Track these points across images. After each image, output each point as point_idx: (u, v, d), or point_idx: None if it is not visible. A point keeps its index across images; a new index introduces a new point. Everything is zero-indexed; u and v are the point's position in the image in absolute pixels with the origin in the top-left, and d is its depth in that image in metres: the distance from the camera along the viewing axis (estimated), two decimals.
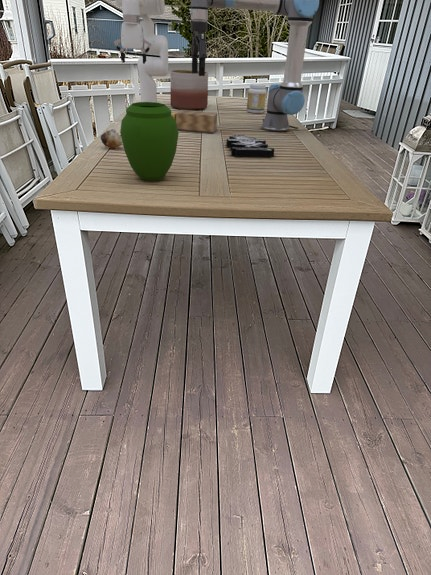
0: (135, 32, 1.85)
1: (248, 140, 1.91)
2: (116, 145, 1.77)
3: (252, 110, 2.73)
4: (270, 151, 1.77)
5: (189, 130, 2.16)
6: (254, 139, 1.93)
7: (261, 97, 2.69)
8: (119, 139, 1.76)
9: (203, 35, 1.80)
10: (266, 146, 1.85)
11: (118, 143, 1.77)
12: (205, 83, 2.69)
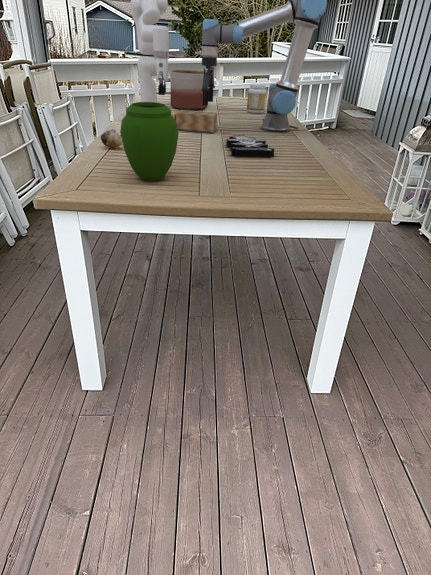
0: None
1: (248, 140, 1.91)
2: (116, 145, 1.77)
3: (252, 110, 2.73)
4: (270, 151, 1.77)
5: (189, 130, 2.16)
6: (254, 139, 1.93)
7: (261, 97, 2.69)
8: (119, 139, 1.76)
9: None
10: (266, 146, 1.85)
11: (118, 143, 1.77)
12: None
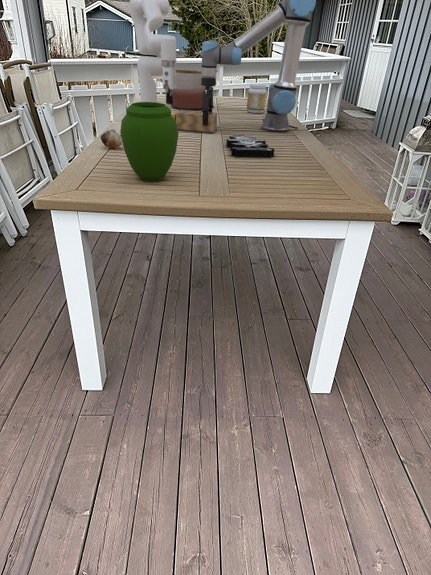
0: None
1: (248, 140, 1.91)
2: (116, 145, 1.77)
3: (252, 110, 2.73)
4: (270, 151, 1.77)
5: (189, 130, 2.16)
6: (254, 139, 1.93)
7: (261, 97, 2.69)
8: (119, 139, 1.76)
9: None
10: (266, 146, 1.85)
11: (118, 143, 1.77)
12: None
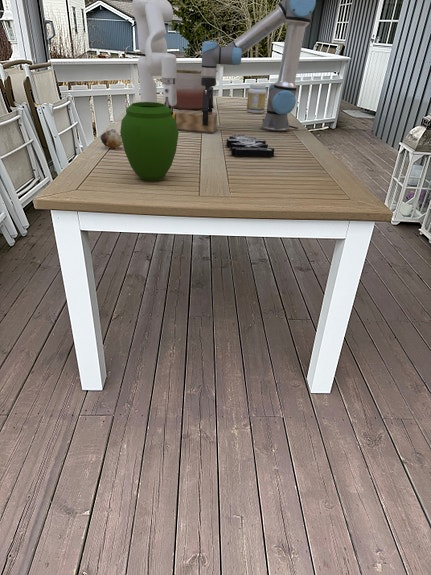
0: None
1: (248, 140, 1.91)
2: (116, 145, 1.77)
3: (252, 110, 2.73)
4: (270, 151, 1.77)
5: (189, 130, 2.16)
6: (254, 139, 1.93)
7: (261, 97, 2.69)
8: (119, 139, 1.76)
9: None
10: (266, 146, 1.85)
11: (118, 143, 1.77)
12: None
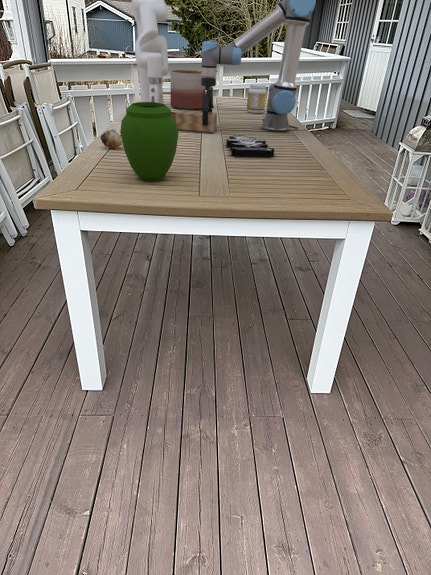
0: None
1: (248, 140, 1.91)
2: (116, 145, 1.77)
3: (252, 110, 2.73)
4: (270, 151, 1.77)
5: (189, 130, 2.16)
6: (254, 139, 1.93)
7: (261, 97, 2.69)
8: (119, 139, 1.76)
9: None
10: (266, 146, 1.85)
11: (118, 143, 1.77)
12: None
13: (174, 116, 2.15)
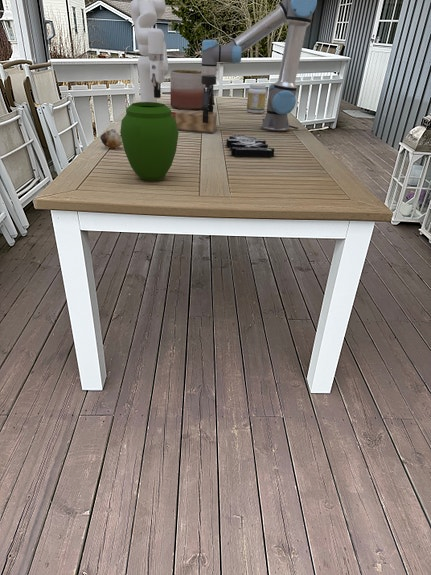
0: None
1: (248, 140, 1.91)
2: (116, 145, 1.77)
3: (252, 110, 2.73)
4: (270, 151, 1.77)
5: (189, 130, 2.16)
6: (254, 139, 1.93)
7: (261, 97, 2.69)
8: (119, 139, 1.76)
9: None
10: (266, 146, 1.85)
11: (118, 143, 1.77)
12: None
13: (174, 116, 2.15)
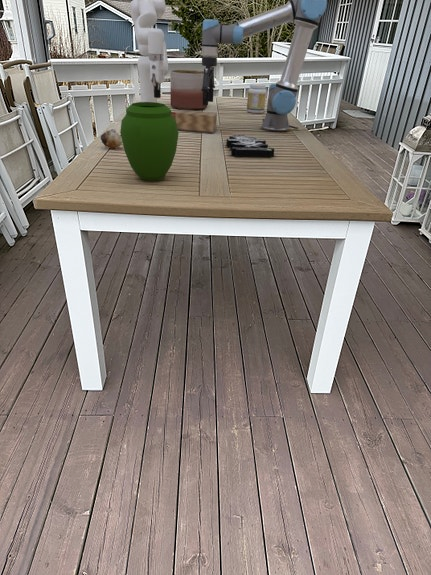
0: None
1: (248, 140, 1.91)
2: (116, 145, 1.77)
3: (252, 110, 2.73)
4: (270, 151, 1.77)
5: (189, 130, 2.16)
6: (254, 139, 1.93)
7: (261, 97, 2.69)
8: (119, 139, 1.76)
9: None
10: (266, 146, 1.85)
11: (118, 143, 1.77)
12: None
13: (174, 116, 2.15)
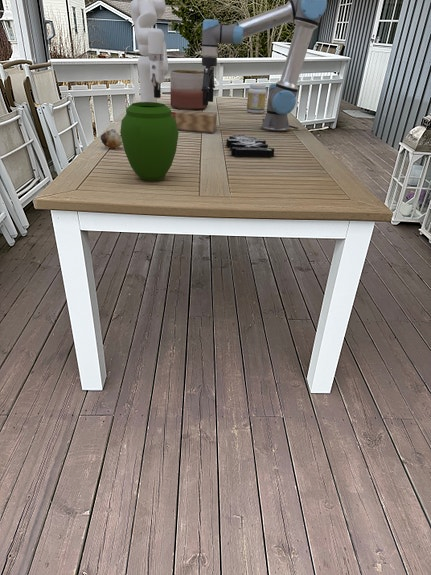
0: None
1: (248, 140, 1.91)
2: (116, 145, 1.77)
3: (252, 110, 2.73)
4: (270, 151, 1.77)
5: (189, 130, 2.16)
6: (254, 139, 1.93)
7: (261, 97, 2.69)
8: (119, 139, 1.76)
9: None
10: (266, 146, 1.85)
11: (118, 143, 1.77)
12: None
13: (174, 116, 2.15)
